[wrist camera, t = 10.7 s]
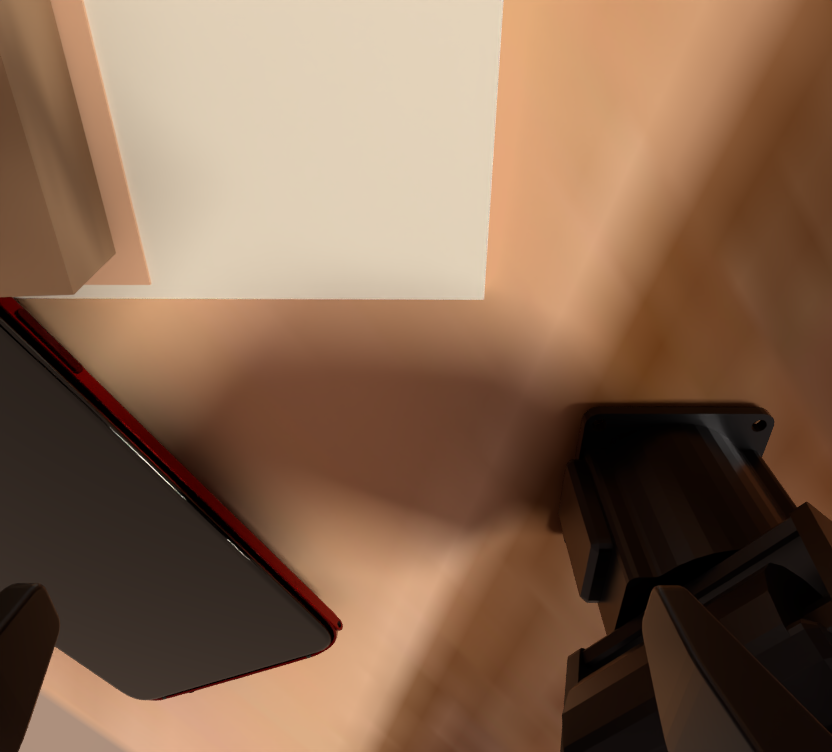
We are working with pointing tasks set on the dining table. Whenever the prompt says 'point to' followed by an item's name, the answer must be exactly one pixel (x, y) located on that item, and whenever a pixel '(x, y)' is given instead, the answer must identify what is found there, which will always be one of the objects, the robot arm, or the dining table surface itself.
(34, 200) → the slotted tan box
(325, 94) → the mat
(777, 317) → the dining table surface
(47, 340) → the grey and red slab
